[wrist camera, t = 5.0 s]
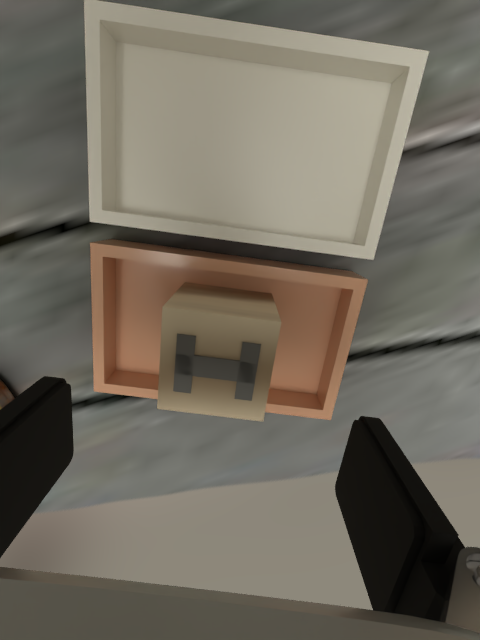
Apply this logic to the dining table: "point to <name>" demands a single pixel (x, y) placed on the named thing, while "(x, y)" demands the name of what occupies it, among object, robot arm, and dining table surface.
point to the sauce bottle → (5, 395)
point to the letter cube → (217, 351)
